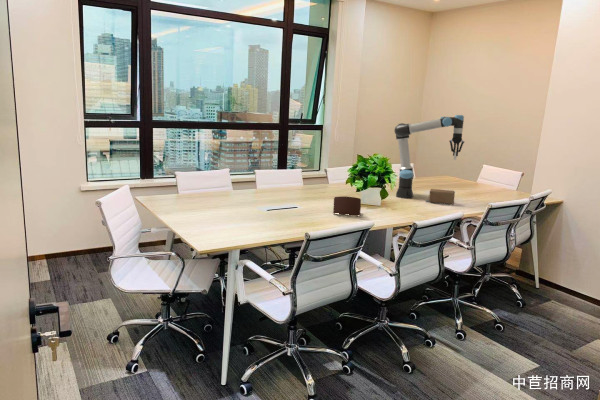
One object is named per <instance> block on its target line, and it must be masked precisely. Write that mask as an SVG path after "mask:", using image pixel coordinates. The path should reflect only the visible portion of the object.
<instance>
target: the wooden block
mask: <svg viewBox="0 0 600 400" xmlns="http://www.w3.org/2000/svg"><path fill="white" fill-rule="evenodd" d="M455 193H456V192H455V190H451V189H450V190H449V189H437V188H431V189H430V190H429V195H428V196H429V197H428V199H429V202H428V203H430V202H435V203H434V204H437V203H445V204H450V205H454V203H455Z"/></svg>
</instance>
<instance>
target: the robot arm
mask: <svg viewBox="0 0 600 400" xmlns="http://www.w3.org/2000/svg"><path fill="white" fill-rule="evenodd" d="M464 120H465V116H464V115H462V114H461V115H460V114H455V115H454V116H440V118H436V119H432V120H427V121H421V122H417V123H402V122H401V123H398V124H397V125H396V126H395V127H394V134H395V140H397V142H398V150H399V153H398V154H399V161H400V167H399V178H398V188H397V191H396V193H395V197H397V198H401V199H413V198H414V192H413V181H414V180H413V179H414V177H415V176H414V170H413V167H412V166H411V158H410V147H409V138H410V135H412V134H413V133H419V132H424V131H430V130H435V129H440V128H446V127H453V133H452V138H451V140H449V141H448V142H449V143H450V144H449V145H450V150H451V151H450V152H452V156H453V161H456V160H457V157H458V156H459V153H460V152H461V150H462V148H463V146H464V143H465V141H464V140H463V138H462V137H463V129H464V123H465V121H464Z"/></svg>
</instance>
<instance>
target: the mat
mask: <svg viewBox="0 0 600 400" xmlns="http://www.w3.org/2000/svg"><path fill="white" fill-rule="evenodd" d="M425 203H431V204H437V205H445V206H450V205H451V204H445V203H435V202H429V198H428V199H426V200H425Z"/></svg>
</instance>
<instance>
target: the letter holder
mask: <svg viewBox="0 0 600 400" xmlns="http://www.w3.org/2000/svg"><path fill="white" fill-rule="evenodd" d="M361 207H362V199H361V198H359V197H354V196H334V198H333V210H332V211H333V212H332V214H333V213H339V214H349V215H348V216H351V215H360V216H361V211H362V210H361Z"/></svg>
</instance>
